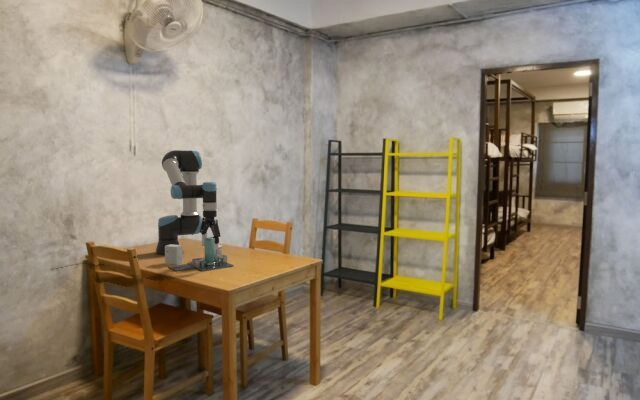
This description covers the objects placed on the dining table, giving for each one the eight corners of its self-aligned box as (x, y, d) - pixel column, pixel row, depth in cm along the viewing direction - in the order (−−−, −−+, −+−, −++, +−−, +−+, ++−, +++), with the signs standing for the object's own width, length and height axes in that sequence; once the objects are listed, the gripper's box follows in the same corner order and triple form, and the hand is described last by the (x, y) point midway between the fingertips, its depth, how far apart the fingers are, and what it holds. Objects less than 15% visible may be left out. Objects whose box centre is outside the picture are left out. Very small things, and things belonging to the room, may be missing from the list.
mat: (167, 267, 250) (167, 266, 250) (186, 264, 258) (186, 263, 258) (176, 271, 242) (176, 270, 242) (195, 268, 249) (195, 267, 249)
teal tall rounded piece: (197, 262, 255) (197, 238, 253) (217, 259, 263) (217, 236, 261) (202, 264, 250) (202, 240, 249) (222, 261, 258) (222, 237, 257)
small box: (182, 263, 262) (182, 245, 261) (176, 265, 256) (176, 246, 255) (171, 261, 264) (170, 244, 263) (164, 263, 259) (164, 245, 258)
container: (217, 260, 270) (216, 238, 269) (204, 259, 271) (204, 238, 270) (222, 257, 277) (222, 236, 276) (210, 256, 279) (210, 235, 278)
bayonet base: (186, 264, 257) (186, 256, 257) (217, 260, 270) (217, 252, 270) (201, 271, 243) (201, 262, 243) (233, 266, 256) (233, 258, 255)
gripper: (193, 208, 261) (194, 244, 262) (214, 212, 242) (214, 251, 243) (205, 207, 265) (206, 243, 267) (226, 211, 246) (227, 250, 248)
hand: (210, 247), depth 255 cm, fingers open, 13 cm apart
